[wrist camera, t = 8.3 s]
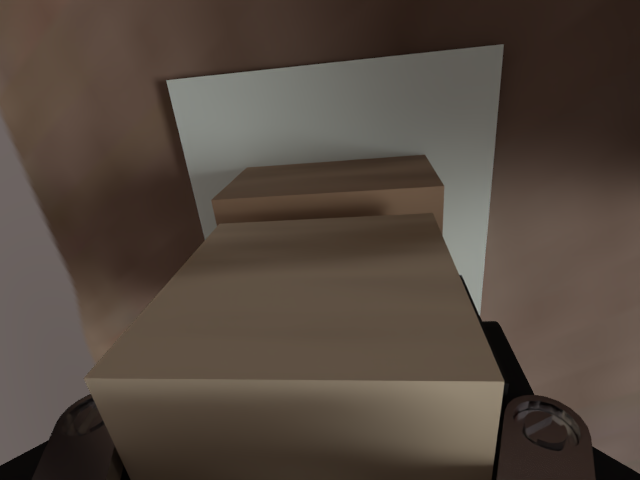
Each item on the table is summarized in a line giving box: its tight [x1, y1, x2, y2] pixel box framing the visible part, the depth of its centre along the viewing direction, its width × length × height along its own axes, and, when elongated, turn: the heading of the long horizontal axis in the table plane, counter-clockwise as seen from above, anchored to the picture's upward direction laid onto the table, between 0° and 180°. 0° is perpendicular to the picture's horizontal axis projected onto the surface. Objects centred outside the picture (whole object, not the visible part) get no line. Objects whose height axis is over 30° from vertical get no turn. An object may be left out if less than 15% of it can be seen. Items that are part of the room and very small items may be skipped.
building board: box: [166, 44, 504, 316], centre depth 17 cm, size 14×12×1 cm
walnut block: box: [211, 155, 444, 236], centre depth 15 cm, size 7×7×4 cm
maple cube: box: [84, 213, 505, 480], centre depth 9 cm, size 6×6×6 cm
